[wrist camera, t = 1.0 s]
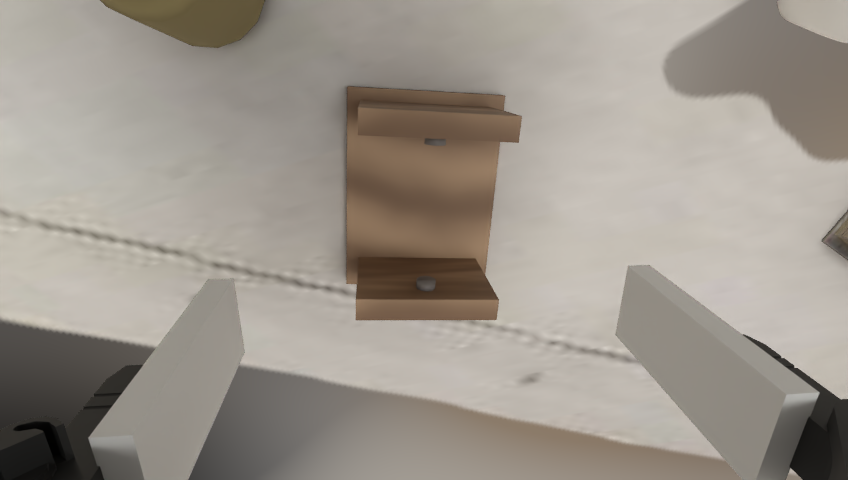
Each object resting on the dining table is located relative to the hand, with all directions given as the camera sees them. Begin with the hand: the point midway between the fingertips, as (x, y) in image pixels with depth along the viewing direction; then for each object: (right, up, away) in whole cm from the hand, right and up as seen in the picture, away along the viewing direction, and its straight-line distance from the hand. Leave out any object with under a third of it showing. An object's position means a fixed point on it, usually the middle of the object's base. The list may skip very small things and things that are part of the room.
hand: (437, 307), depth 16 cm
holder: (-1, +6, +23) cm, 24 cm away
